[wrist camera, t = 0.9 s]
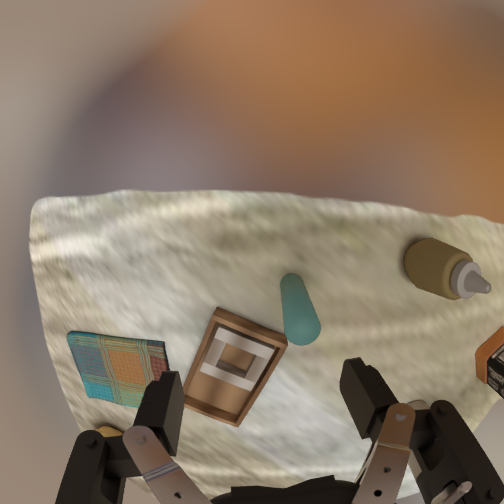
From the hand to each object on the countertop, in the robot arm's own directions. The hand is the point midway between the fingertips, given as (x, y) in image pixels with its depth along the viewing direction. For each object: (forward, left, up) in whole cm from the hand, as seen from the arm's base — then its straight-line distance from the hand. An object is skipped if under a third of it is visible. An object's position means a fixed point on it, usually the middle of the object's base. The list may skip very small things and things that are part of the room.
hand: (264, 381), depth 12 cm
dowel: (-4, +2, -29) cm, 29 cm away
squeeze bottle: (-22, -10, -29) cm, 38 cm away
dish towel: (+18, +33, -30) cm, 48 cm away
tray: (-1, +20, -29) cm, 35 cm away
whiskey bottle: (-56, -1, -29) cm, 64 cm away
